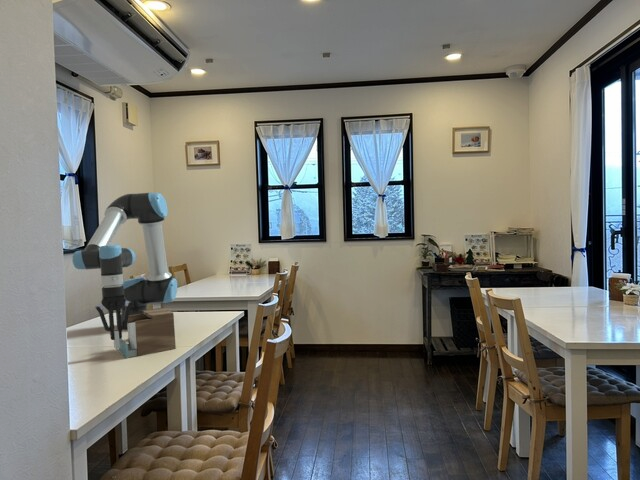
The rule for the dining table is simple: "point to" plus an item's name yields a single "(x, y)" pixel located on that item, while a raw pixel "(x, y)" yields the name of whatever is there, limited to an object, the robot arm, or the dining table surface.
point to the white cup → (132, 335)
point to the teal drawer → (127, 349)
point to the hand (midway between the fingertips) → (117, 347)
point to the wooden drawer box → (154, 331)
